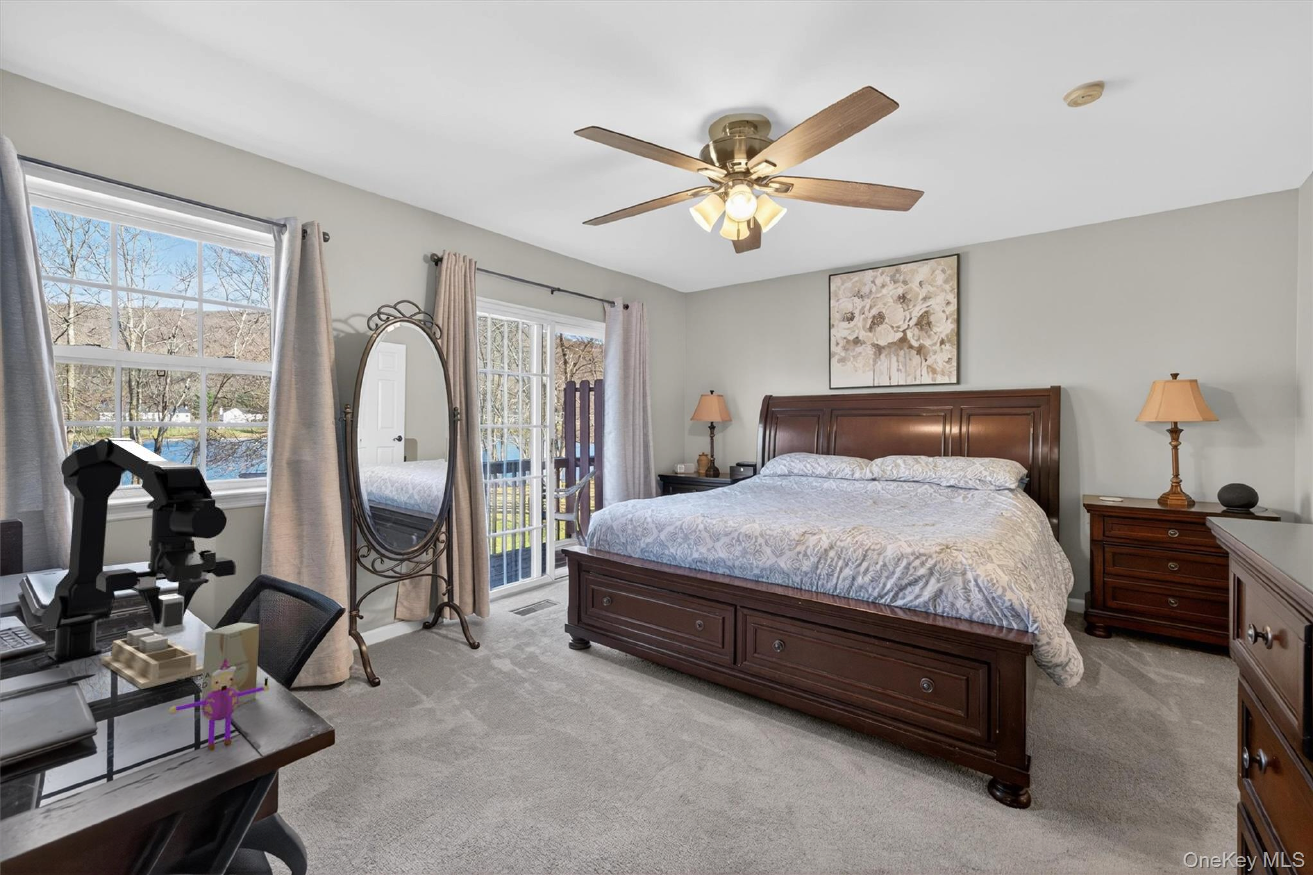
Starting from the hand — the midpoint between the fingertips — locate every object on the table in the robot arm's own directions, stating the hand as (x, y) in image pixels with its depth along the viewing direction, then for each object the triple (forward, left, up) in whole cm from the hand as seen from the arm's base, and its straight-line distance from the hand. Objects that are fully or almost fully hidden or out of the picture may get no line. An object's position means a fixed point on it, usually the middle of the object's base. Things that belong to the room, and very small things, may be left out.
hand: (168, 621), depth 105 cm
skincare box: (+22, +2, -10) cm, 24 cm away
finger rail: (-7, 0, -10) cm, 12 cm away
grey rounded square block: (0, 0, -2) cm, 2 cm away
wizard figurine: (+36, -5, -10) cm, 38 cm away
